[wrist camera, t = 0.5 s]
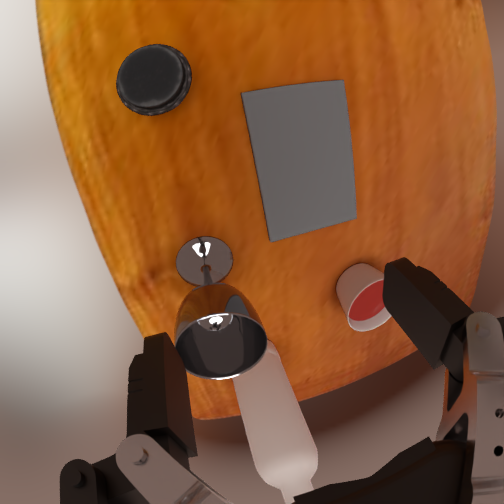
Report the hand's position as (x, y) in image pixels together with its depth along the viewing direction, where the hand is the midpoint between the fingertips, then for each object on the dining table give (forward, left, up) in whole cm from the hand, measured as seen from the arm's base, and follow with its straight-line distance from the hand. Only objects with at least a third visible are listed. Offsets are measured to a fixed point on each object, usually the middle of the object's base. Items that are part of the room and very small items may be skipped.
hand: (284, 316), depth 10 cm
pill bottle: (-10, -3, -26) cm, 28 cm away
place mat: (+2, +11, -26) cm, 28 cm away
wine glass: (+12, -4, -26) cm, 28 cm away
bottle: (+30, -1, -26) cm, 40 cm away
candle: (+22, +17, -26) cm, 38 cm away
